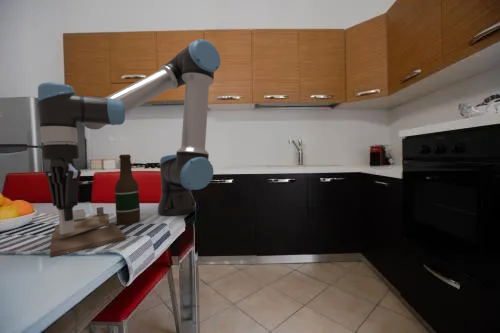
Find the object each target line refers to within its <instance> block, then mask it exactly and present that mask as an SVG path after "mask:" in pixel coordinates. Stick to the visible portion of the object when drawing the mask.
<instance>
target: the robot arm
mask: <svg viewBox="0 0 500 333" xmlns="http://www.w3.org/2000/svg"><path fill="white" fill-rule="evenodd" d="M220 56H221V55H220V53H219V51H218V50H217V48H216V46H215V45H214V44H213V43H211V41H209V40H207V39H204V38H203V39H202V38H200V39H195V40H194V41H192V42H191V43H189V45H187V46H186V47H184V49H182V50H181V51H180V52H179V53H178V52H177V54H176V55H175V56H174V57H172V58H171V59H170V60H169V61H168V62H167V63H165V64H163V65H161V66H160V68H159V70H157V71H155V72H153V73H151V74H148V75H147V76H145V77H143V78H141V79H139V80H137V81H135V82H133V83H131V84H129V85H127V86H126V87H125V86H124V87H123V88H121V89H119V90H117V91H115V92H114V93H111V94H109V95H108V96H105V97H100V96H92V95H90V96H89V95H82V94H81V95H80V94H76V92H75V90H74V87H73V86H72V85H69V84H65V83H61V82H52V81H51V82H50V81H48V82H43V83H40V84H39V85H38V87H37V103H38V105H37V106H38V113H39V114H38V116H39V125H40V126H39V132H40V133H39V134H40V142H41V143H42V144H44V145H42V146H41V151H42V152H41V154H42V159H44V160H47V161H48V160H50V165H49V170H46V171H45V173H44V174H45V176H46V179H47V182H48V187H49V193H50V197H51V202H52V206H53V207H56V209H57V211H58V223H59V224H58V225H59V226H60V234H66V233H70V232H74V220H73V211H74V210H73V208H74V207H75V206H78V205H79V193H80V192H79V190H80V189H79V188H80V178H81V175H82V171H81V170H80V169H76V168H75V163H74V162H75V161H74V160H77V159H79V157H80V155H79V154H80V152H79V146H78V136H79V132H78V130H77V128H78V126H77V123H79V124H82V125H83V127H85V128H87V129H89V130H100V129H103V127H105V126H107V125H111V126H114V125H117V126H121V125H123V124H124V123H125V120H126V114H127V113H129V112H131V111H133V110H135V109H136V108H138V107H140V106H142V105H144V104H146V103H147V102H149V101H151V100H153V99H154V98H156V97H158V96H159V95H162V94H163V93H165V92H167V91H169V90H176V89H178V88H180V87H182V86H184V85H185V88H184V98H183V100H184V103H183V116H182V118H183V119H182V131H181V145H180V148H179V149H177V151H176V154H170V155H163V156H162V157H161V158H160V161H159V162H160V163H159V168H160V170H159V172H160V185H161V195H160V199H159V202H158V205H157V214H158V215H160V216H167V217H168V216H171V217H172V216H182V215H187V214H191V213H193V212H195V211H197V204H196V201H195V199H194V196H193V193H192V191H194V190H202V189H204V188H206V187H207V186H208V185H209V184H210V183H211V182H212V180H213V176H214V166H213V164H212V163H211V161H210V160H209V157H210V156H209V153H208V151H207V150H206V137H207V123H208V107H209V106H208V105H209V95H210V94H209V92H210V87H211V85H213V84H214V80H215V79H214V77H215V72H216V71H217V70H218V69H219V68H220V65H221V57H220Z"/></svg>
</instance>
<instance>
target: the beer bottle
mask: <svg viewBox="0 0 500 333" xmlns="http://www.w3.org/2000/svg"><path fill="white" fill-rule="evenodd" d="M118 158H119V178H118V180H117V182H116V183H115V187H114V199H115V201H114V202H115V214H116V216H115V218H116V224H117V225H119V226H120V225H121V226H128V225H133V224H137V223H139V222H140V221H141V207H140V206H141V204H140V190H139V184H138V182H137V180H136V179H135V178H134V175H133V172H132V171H133V170H132V164H131V158H132V156H131V154H119V157H118Z"/></svg>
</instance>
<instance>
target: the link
mask: <svg viewBox="0 0 500 333" xmlns="http://www.w3.org/2000/svg"><path fill="white" fill-rule="evenodd" d="M109 216H110V215H109V213H104V206H101V207H96V214H94V215H92V216H89V217H86V218H84V219H80V220H76V221H74V232H70V233H66V234H60V226H59V224H57V225H54V233H55V237H58V238H65V237H68V236H71V235H74V234H78V233H81V232H84V231H87V230H90V229H94V228H97V227H100V226H105V225H108V224H109V223H110V219H109V218H110V217H109Z"/></svg>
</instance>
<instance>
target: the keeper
mask: <svg viewBox="0 0 500 333" xmlns="http://www.w3.org/2000/svg"><path fill="white" fill-rule="evenodd" d="M86 216H87V215H86V212H85V209H77V210H76V209H75V210H73V220H74V221H76V220H80V219H84V218H87V217H86ZM108 227H110V224H108V225H105V226H100V227H97V228H94V229H93V230H99V229H105V228H108Z"/></svg>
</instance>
